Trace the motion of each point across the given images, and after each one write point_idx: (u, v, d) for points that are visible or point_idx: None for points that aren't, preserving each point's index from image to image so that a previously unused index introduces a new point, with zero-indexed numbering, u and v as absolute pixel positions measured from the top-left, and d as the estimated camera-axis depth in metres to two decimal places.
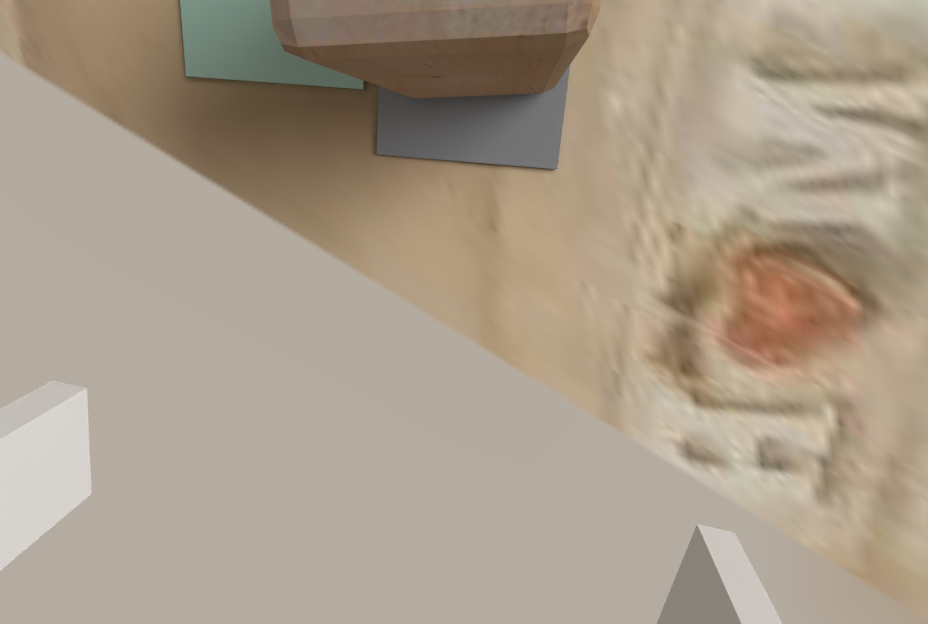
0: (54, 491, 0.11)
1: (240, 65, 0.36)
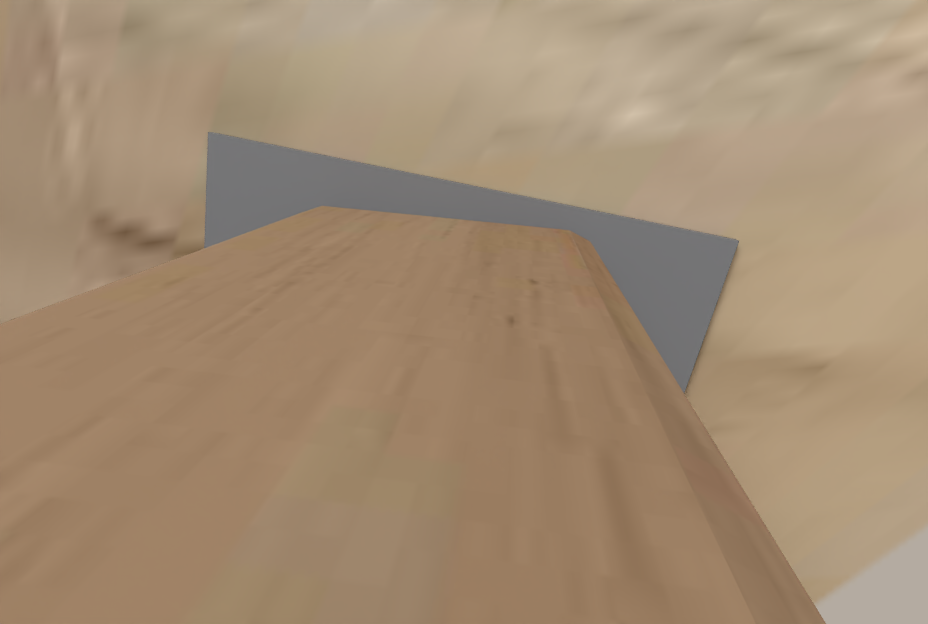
0: None
1: None
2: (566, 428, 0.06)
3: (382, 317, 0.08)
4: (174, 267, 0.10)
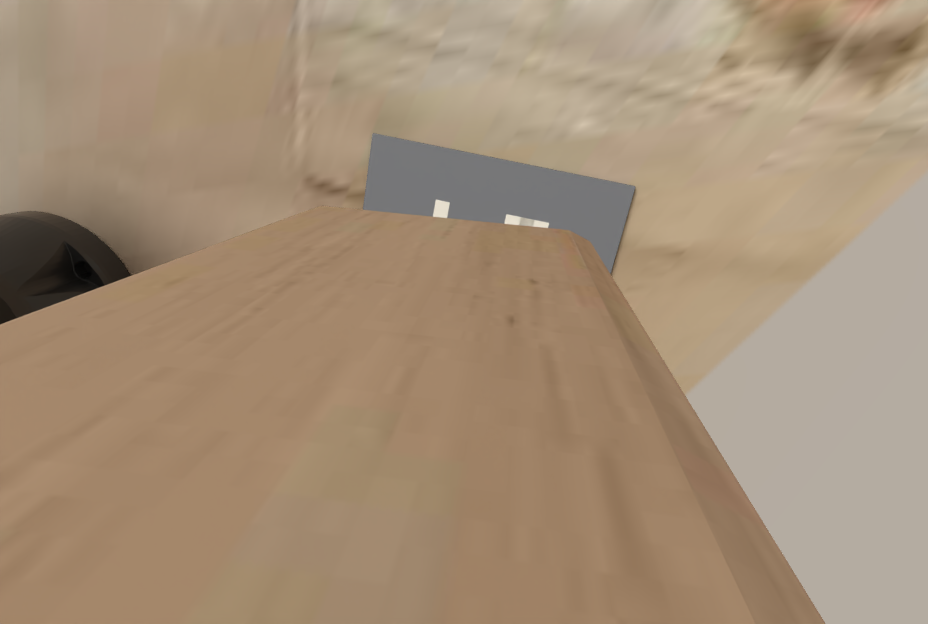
0: None
1: None
2: (566, 426, 0.06)
3: (382, 316, 0.08)
4: (175, 268, 0.10)
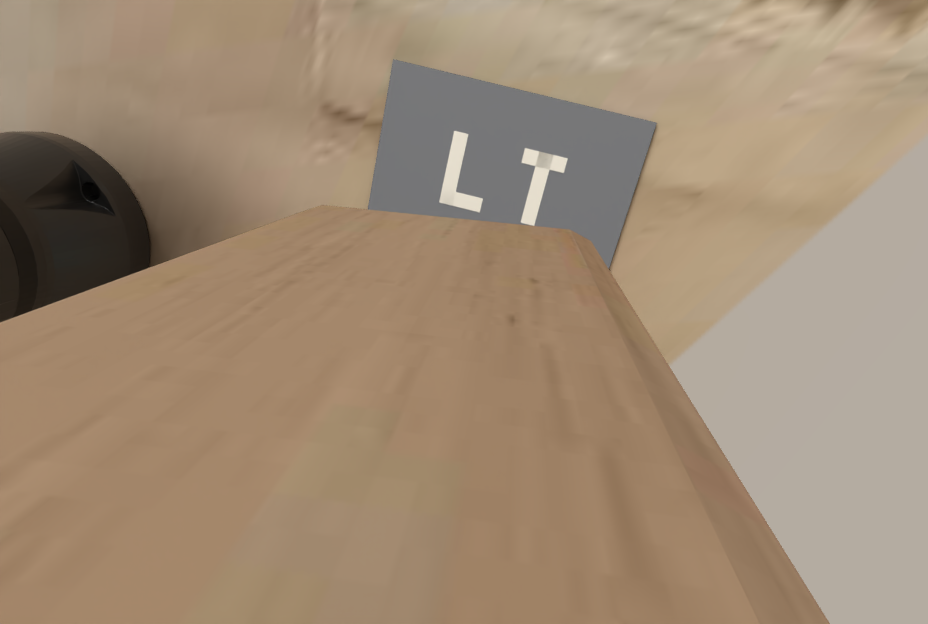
0: None
1: None
2: (568, 426, 0.06)
3: (383, 315, 0.08)
4: (174, 266, 0.10)
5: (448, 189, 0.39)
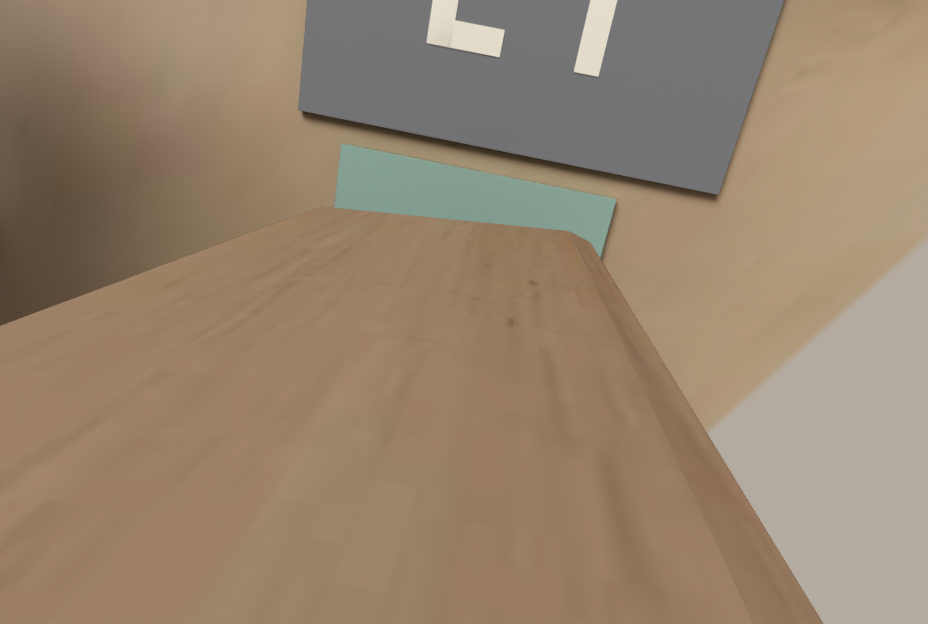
0: None
1: None
2: (565, 430, 0.06)
3: (383, 318, 0.08)
4: (174, 269, 0.10)
5: (442, 16, 0.22)
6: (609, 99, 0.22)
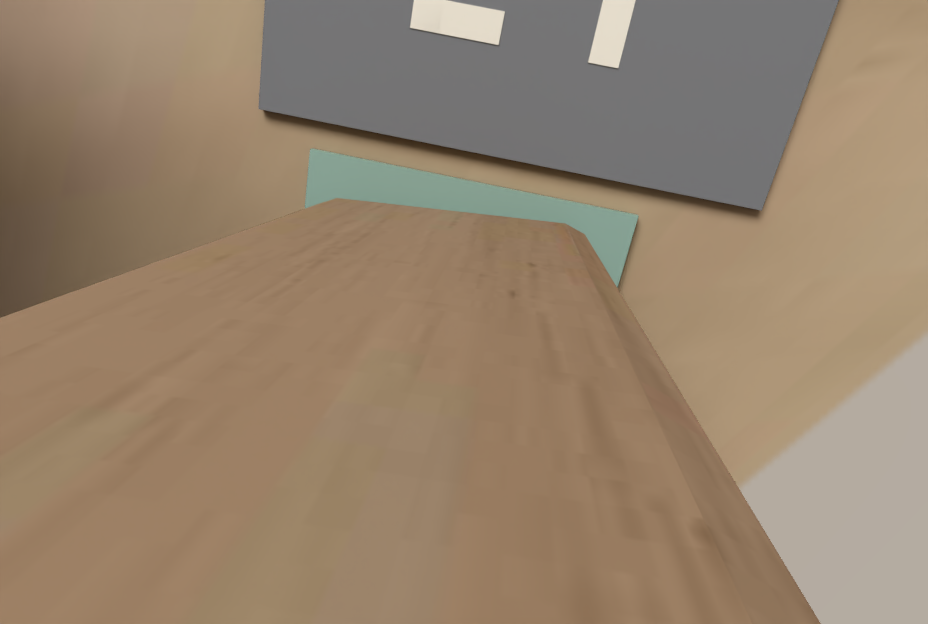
0: None
1: None
2: (557, 367, 0.07)
3: (403, 288, 0.10)
4: (219, 246, 0.11)
5: None
6: (631, 95, 0.18)
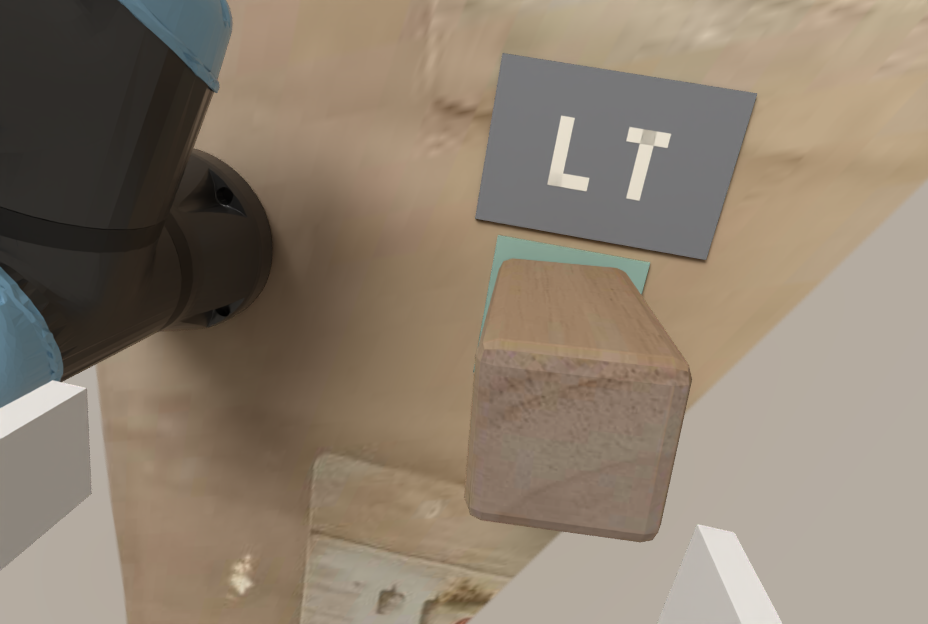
0: (54, 491, 0.11)
1: None
2: (630, 316, 0.30)
3: (579, 298, 0.33)
4: (512, 286, 0.35)
5: (556, 171, 0.41)
6: (645, 211, 0.41)
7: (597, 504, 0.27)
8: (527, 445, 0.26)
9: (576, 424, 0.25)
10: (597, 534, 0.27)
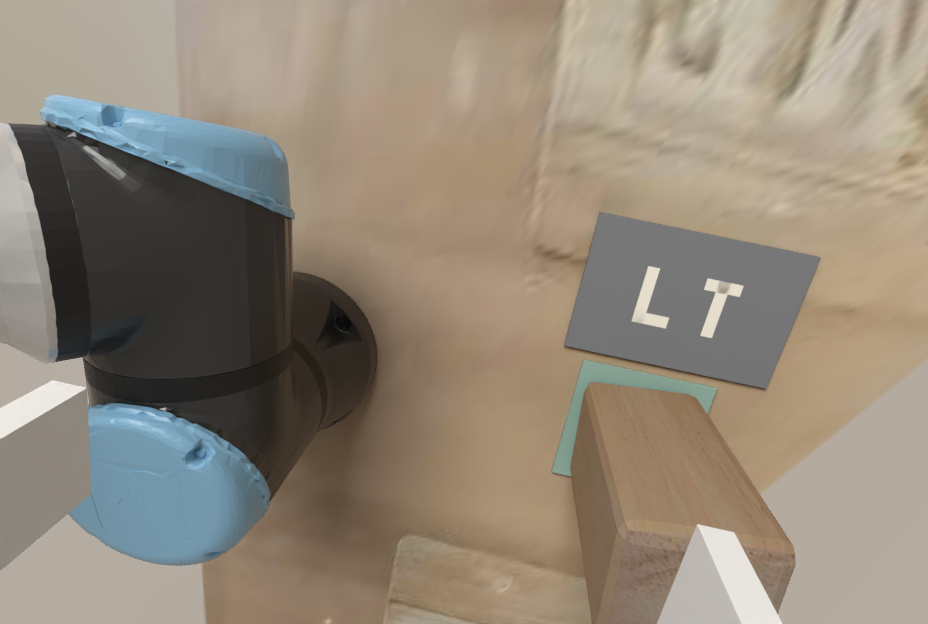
0: (54, 491, 0.11)
1: None
2: (727, 477, 0.36)
3: (677, 450, 0.39)
4: (616, 432, 0.40)
5: (640, 311, 0.47)
6: (716, 347, 0.47)
7: None
8: (657, 603, 0.32)
9: None
10: None
